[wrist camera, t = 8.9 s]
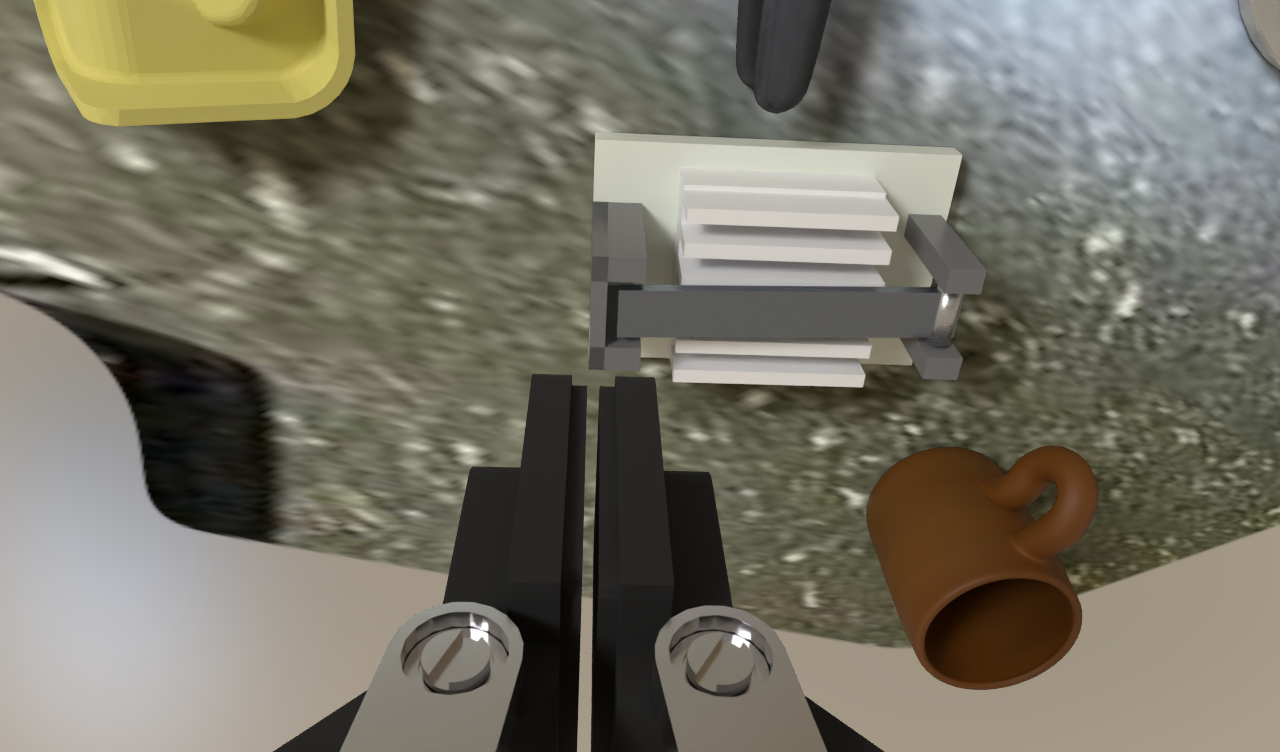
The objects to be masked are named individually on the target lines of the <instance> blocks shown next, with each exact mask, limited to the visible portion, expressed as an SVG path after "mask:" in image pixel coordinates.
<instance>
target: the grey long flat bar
mask: <svg viewBox="0 0 1280 752" xmlns="http://www.w3.org/2000/svg"><path fill="white" fill-rule="evenodd" d="M964 295H965V294H948V293H944V292H943V291H942V289H941V288H940V287H939V285H938V286H937V287H861V286H735V285H618V295H617V317H616V336H617V337H711V338H925V339H924V340H925V342H926V343H928V344H929V345H931V346H934V347H941V348H942V347H947V346H949V345H950V342H951V338H953V336H954V333H955V329H956V325H957V321H958V317H959V314H960V310H961V306H962V302H963V299H964Z"/></svg>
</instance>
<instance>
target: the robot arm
mask: <svg viewBox="0 0 1280 752" xmlns="http://www.w3.org/2000/svg"><path fill="white" fill-rule="evenodd" d="M1239 6H1240V13H1241V16H1242V19H1243V21H1244V24H1245V26H1246V29H1247V31H1248V34H1249V36H1250V39H1251V40H1252V41H1253V43H1254V44H1255V46H1256V47H1257V48H1258V50H1259V51H1260V52H1261V54H1262V55H1263V56H1264V58H1265V59H1266V60H1267V61H1268V62H1270V63H1271V64H1272V65H1274V66H1275V67H1276V68H1278V69H1279V70H1280V0H1239ZM586 408H587V386H572V375H551V374H532V379H531V388H530V396H529V404H528V412H527V420H526V428H525V436H524V444H523V452H522V460H521V468H511V467H472V468H471V469H470V473H469V476H468V481H467V486H466V491H465V496H464V501H463V506H462V511H461V516H460V521H459V526H458V531H457V536H456V541H455V546H454V551H453V556H452V561H451V566H450V571H449V576H448V582H447V586H446V591H445V596H444V601H443V604H442V605H437V606H433V607H431V608H429V609H427V610H424V611H422V612H420V613H418V614H416V615H414V616H413V617H412V618H410V619H409V620H408V621H407V622H406V623H404V624H403V625H402V626H401V627H400V628H399V629H398V631H397V632H396V633H395V635H394V636H393V638H392V639H391V641H390V642H389V644H388V646H387V649H386V651H385V653H384V655H383V657H382V660H381V662H380V664H379V666H378V668H377V671H376V673H375V675H374V677H373V680H372V682H371V684H370V686H369V688H368V690H367V691H365V692H364V693H362V694H361V695H359V696H358V697H356V698H355V699H353V700H351V701H350V702H349V703H347V704H346V705H344V706H342V707H341V708H339V709H338V710H336V711H335V712H333V713H332V714H330V715H329V716H327V717H325V718H324V719H322V720H321V721H320V722H318V723H316V724H315V725H314V726H312V727H310V728H309V729H307V730H306V731H304V732H302V733H301V734H299V735H298V736H296V737H295V738H293V739H292V740H290V741H289V742H287V743H286V744H284V745H283V746H281V747H280V748H278V749H277V750H275V751H273V752H577V730H578V729H577V728H578V696H579V695H578V694H579V663H580V661H579V660H580V630H581V597H582V561H583V523H584V485H585V446H586ZM592 632H593V634H592V715H591V716H592V717H591V752H884V751H882V750H881V749H880V748H878V747H877V746H875V745H874V744H873V743H871V742H870V741H868V740H867V739H866V738H864V737H863V736H861V735H860V734H858V733H857V732H855V731H854V730H853V729H851V728H850V727H848V726H847V725H846V724H844V723H843V722H841V721H840V720H839V719H837V718H836V717H834V716H833V715H831V714H830V713H829V712H827V711H826V710H824V709H823V708H821V707H820V706H819V705H817V704H815V703H814V702H813V701H812V700H810V699H809V698H807V697H806V696H804V693H803V691H802V689H801V686H800V684H799V681H798V679H797V676H796V674H795V671H794V669H793V667H792V664H791V662H790V659H789V657H788V654H787V652H786V649H785V647H784V645H783V644H782V642H781V641H780V639H779V637H778V636H777V634H776V632H775V631H773V630H772V629H771V628H770V627H769V626H768V625H767V624H766V623H764V622H763V621H762V620H761V619H759V618H757V617H755V616H753V615H751V614H749V613H747V612H745V611H743V610H739V609H735V608H733V607H732V601H731V594H730V588H729V582H728V576H727V570H726V564H725V558H724V552H723V545H722V539H721V533H720V527H719V521H718V515H717V509H716V503H715V496H714V490H713V484H712V479H711V475H710V473H709V472H688V471H664V469H663V458H662V448H661V437H660V426H659V415H658V404H657V394H656V383H655V378H654V377H620V376H616V377H615V387H606V386H600V391H599V416H598V443H597V469H596V495H595V522H594V552H593V630H592Z"/></svg>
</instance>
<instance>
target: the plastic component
mask: <svg viewBox="0 0 1280 752" xmlns="http://www.w3.org/2000/svg"><path fill="white" fill-rule="evenodd" d="M34 4H35V8H36V11H37V15H38V18H39V22H40V25H41V29H42V32H43V35H44V38H45V41H46V44H47V47H48V50H49V53H50V56H51V59H52V61H53V64H54V66H55V69H56V71H57V73H58V75H59V77H60V79H61V81H62V82H63V84H64V86H65V87H66V89H67V90H68V92H69V94H70V95H71V97H72V99H73V100H74V102H75V104H76V105H77V107H78V109H79V110H80V112H81V114H82V115H83V117H85V118H86V119H87V120H89V121H92V122H95V123H99V124H103V125H112V126H136V125H157V124H179V123H201V122H223V121H244V120H266V119H288V118H298V117H302V116H306V115H310V114H313V113H315V112H317V111H319V110H320V109H322V108H324V107H326V106H328V105H329V104H330V103H331V102H332V101H333V100H334V99H335V98H336V97H337V96H339V95H340V93H341V92H342V90H343V89H344V87H345V86H346V84H347V83H348V80H349V78H350V75H351V73H352V70H353V65H354V59H355V39H354V16H353V0H34Z"/></svg>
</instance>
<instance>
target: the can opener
mask: <svg viewBox="0 0 1280 752" xmlns="http://www.w3.org/2000/svg"><path fill="white" fill-rule="evenodd" d="M830 3H831V0H739V5H738V22H737V44H736V50H737V53H736V66H737V72H738V75H739V77H740V79H741V80H742V82H743V83H744V84H745V85H747V86H748V87H750V88H752V89H754V95H755V98H756V101H757V103H758V105H759V106H760V107H762V108H763V109H765V110H766V111H768V112H772V113H776V114H777V113H781V112H785V111H787V110H789V109H791V108H793V107H795V106H796V105H797V104H798V103H799V102H800V101H801V100H802V99H803V97H804V96H805V94H806V92H807V89H808V86H809V84H810V81H811V78H812V74H813V70H814V66H815V63H816V59H817V55H818V52H819V48H820V44H821V40H822V36H823V32H824V28H825V24H826V20H827V16H828V12H829V8H830Z"/></svg>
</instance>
